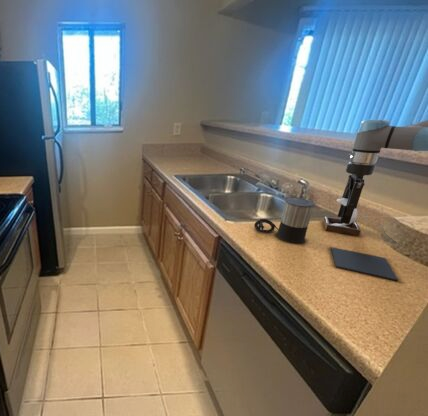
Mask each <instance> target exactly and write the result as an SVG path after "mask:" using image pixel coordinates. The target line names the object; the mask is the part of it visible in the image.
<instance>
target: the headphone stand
mask: <svg viewBox="0 0 428 416" xmlns="http://www.w3.org/2000/svg"><path fill="white" fill-rule="evenodd" d="M347 200H348V199H346V198H342V197H341V198H337V199H336V202H337V203H339V204H340V205H341V204H343V205H344V206H346V204H347ZM357 218H358V207H357V208H356V209H354V211H353V214H352V217H351V220H350V223H349V224H351V223H353V222H354V221H356V220H357ZM329 224H330V225H335V226H341V227H347V228H350V227H349V226H346V225H349V224H345V223H343V224H338V223H334V224H331V223H329Z"/></svg>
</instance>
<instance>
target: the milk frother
mask: <svg viewBox="0 0 428 416" xmlns="http://www.w3.org/2000/svg"><path fill="white" fill-rule="evenodd" d="M284 201H285V202H284V206H283V209H282V213H281V214H282V215H281V218H280V224H279V226H276V224H275V223H273V221H271V220H269V219H267V218H260V219H258V220H256V221H255V222H254V229H255V230H256V231H258V232H260V233H264V234H271V233H272V232H273V231H274V230H275V229H276V230H277V232H276V237H277V238H278V239H280V240H282V241H285V242H288V243H293V244H301V243H304V242H305V241H306V236H307V231H308V227H309V225H310V220H311V217H312V213H313V211H314V207H315V206H316V203H315V202H313V201H312V200H309V199H306V198H301V197H287V198H285V199H284ZM265 223H266V224H267V225H269V226H270V228H268V229H265V225H264V224H265Z"/></svg>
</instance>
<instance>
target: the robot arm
mask: <svg viewBox="0 0 428 416" xmlns="http://www.w3.org/2000/svg"><path fill="white" fill-rule="evenodd" d="M382 149H390V150H391V149H392V150H403V151H412V152H413V151H414V152H428V119H425V120H422V121H419V122H416V123H411V124H409V125H406V126H396V125H391V121H390V120H388V119H364V120H363V121H361V122H360V125H359V128H358V131H357V132H356V136H355V140H354V143H353V146H352V149H351V153H348V156H349V159H348V160H349V162H348V163H347V165H346V169H345V172H346V173H347V174H349V175H348V178H347V182H346V185H345V188H344V191H343V193H342V196H341V198H346V199H348V200H347V204H346V206H344V205H343V204H341V203H340V207H339V210H338V213H337V217H338V218H340V219H341V220H340V223H345V224H349V223H350V220H351V217H352V214H353V211H354V209H356V208H357V209H358V204H359V201H360V197H361V194H362V192H363V188H364V186H365V184H366V183H365V179H364V177H365V176H372V175H373V174H374V171H375V167H376V165H375V164H377V162H378V159H379V157H380V155H381V154H380V153H381V150H382Z"/></svg>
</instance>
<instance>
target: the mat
mask: <svg viewBox="0 0 428 416" xmlns="http://www.w3.org/2000/svg"><path fill="white" fill-rule="evenodd" d="M330 251H331V254H332V258H333V263H334V267H335V268H337V269H338V268H339V269H342V270H347V271H351V272H356V273H360V274H365V275H368V276H373V277H378V278H381V279H385V280H389V281H395V282H398V281H399V279H398V277H397V276H396V274H395V272H394V271H393V268H391V265H390V264H389V262H388V260H387V259H386V257H381V256H377V255H372V254H367V253H362V252H357V251H353V250H348V249H342V248H338V247H334V246H333V247H332V246H331V247H330Z"/></svg>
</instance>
